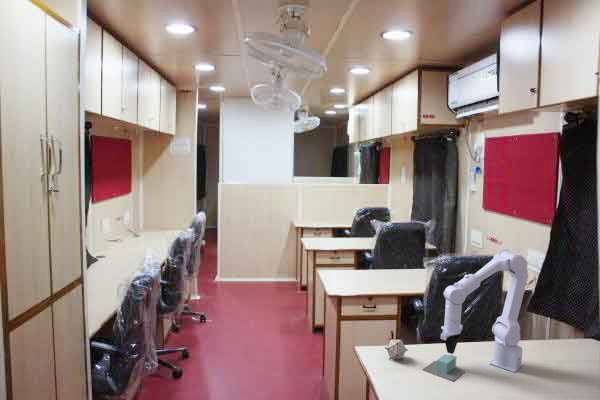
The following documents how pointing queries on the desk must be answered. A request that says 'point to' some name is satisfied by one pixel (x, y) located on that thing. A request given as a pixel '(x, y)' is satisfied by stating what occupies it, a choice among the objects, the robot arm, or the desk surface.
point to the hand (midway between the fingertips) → (450, 352)
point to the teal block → (446, 363)
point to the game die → (396, 348)
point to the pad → (449, 376)
